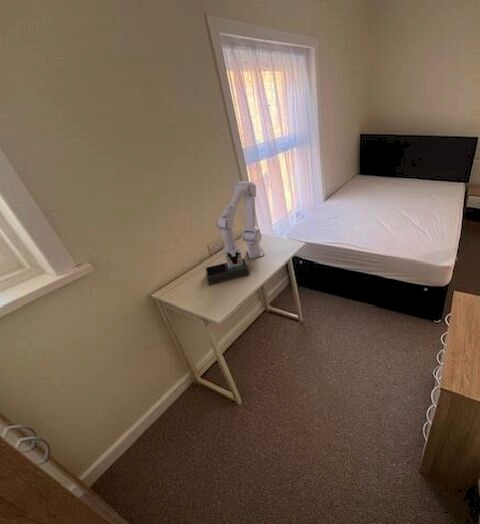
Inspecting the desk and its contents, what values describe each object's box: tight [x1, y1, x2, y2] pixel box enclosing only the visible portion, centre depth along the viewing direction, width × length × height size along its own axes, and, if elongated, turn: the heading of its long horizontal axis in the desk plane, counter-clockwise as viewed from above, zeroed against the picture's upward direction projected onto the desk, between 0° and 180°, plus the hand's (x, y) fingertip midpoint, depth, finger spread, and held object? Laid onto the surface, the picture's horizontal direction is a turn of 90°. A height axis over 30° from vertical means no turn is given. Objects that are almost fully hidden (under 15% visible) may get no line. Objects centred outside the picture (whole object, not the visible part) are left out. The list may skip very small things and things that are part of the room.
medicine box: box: [223, 248, 244, 269], centre depth 152 cm, size 8×4×9 cm, turn 117°
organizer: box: [205, 258, 250, 286], centre depth 154 cm, size 11×21×5 cm, turn 115°
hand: (234, 261), depth 153 cm, fingers closed on medicine box, 4 cm apart
